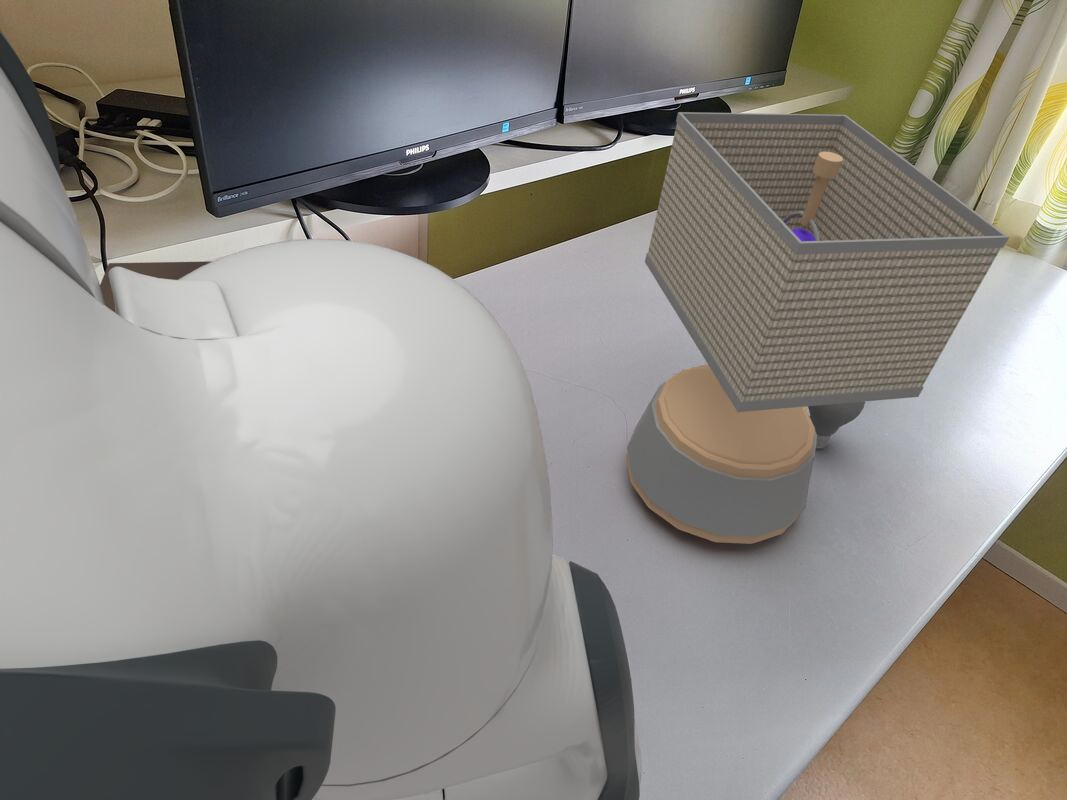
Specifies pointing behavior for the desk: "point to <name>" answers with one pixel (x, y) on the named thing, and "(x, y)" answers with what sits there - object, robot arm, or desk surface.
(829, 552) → the desk surface
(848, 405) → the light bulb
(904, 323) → the desk lamp
